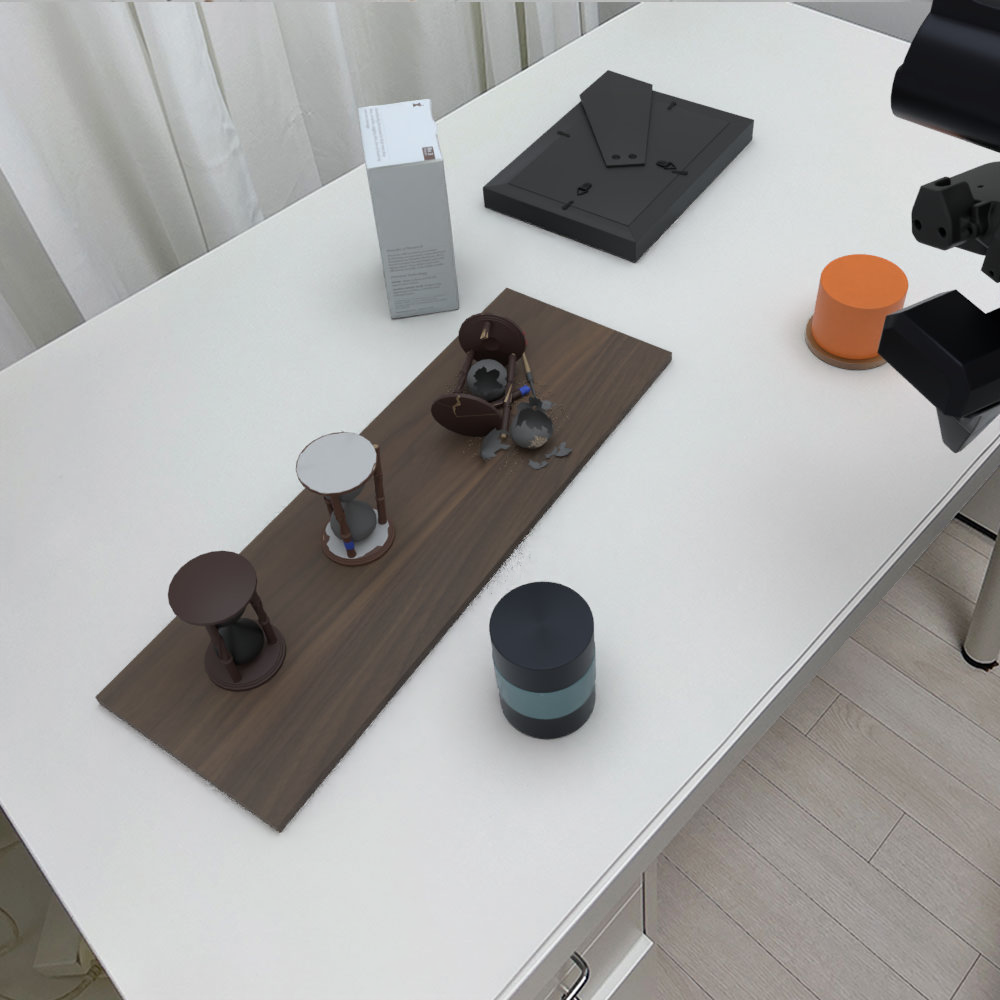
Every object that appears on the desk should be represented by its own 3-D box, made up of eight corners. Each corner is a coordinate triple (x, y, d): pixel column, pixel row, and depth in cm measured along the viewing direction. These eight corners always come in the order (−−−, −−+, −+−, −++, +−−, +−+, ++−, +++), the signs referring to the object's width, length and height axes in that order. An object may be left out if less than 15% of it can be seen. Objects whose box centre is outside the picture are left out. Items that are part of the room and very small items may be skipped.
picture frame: (608, 96, 109) (484, 207, 99) (607, 69, 107) (481, 180, 97) (752, 139, 102) (635, 262, 92) (755, 112, 100) (635, 235, 90)
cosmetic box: (382, 261, 95) (352, 104, 84) (451, 250, 96) (430, 92, 84) (392, 324, 90) (360, 166, 78) (465, 312, 90) (444, 153, 79)
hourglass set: (671, 359, 85) (676, 272, 78) (280, 832, 63) (241, 765, 56) (507, 295, 91) (499, 208, 85) (99, 703, 69) (45, 629, 63)
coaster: (890, 306, 87) (891, 300, 86) (907, 368, 82) (909, 362, 82) (799, 309, 87) (800, 303, 87) (811, 371, 83) (812, 365, 82)
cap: (912, 342, 83) (926, 291, 79) (842, 370, 82) (854, 319, 78) (862, 295, 87) (873, 244, 83) (794, 321, 86) (803, 270, 82)
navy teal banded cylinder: (595, 654, 69) (594, 579, 63) (597, 740, 65) (595, 670, 59) (501, 654, 69) (490, 580, 63) (497, 740, 65) (485, 670, 59)
